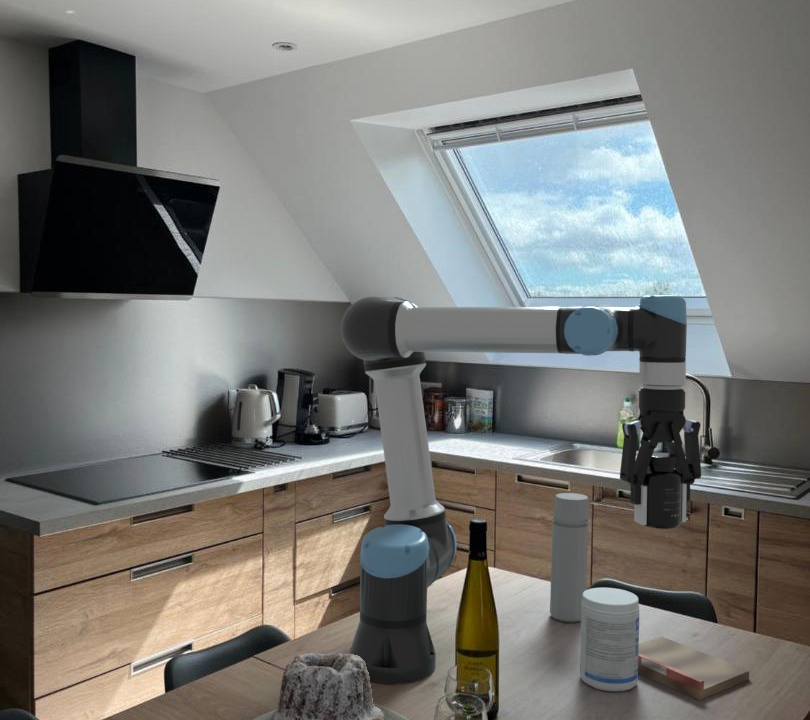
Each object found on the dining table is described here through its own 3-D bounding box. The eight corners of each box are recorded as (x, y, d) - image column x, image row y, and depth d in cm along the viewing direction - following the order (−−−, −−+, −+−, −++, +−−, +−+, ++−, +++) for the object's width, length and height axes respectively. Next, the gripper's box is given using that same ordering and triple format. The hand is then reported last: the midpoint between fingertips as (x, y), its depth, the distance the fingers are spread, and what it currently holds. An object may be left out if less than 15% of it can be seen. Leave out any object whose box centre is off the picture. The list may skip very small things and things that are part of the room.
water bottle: (585, 626, 166) (590, 501, 165) (545, 621, 168) (549, 498, 167) (588, 610, 175) (593, 492, 173) (551, 606, 177) (554, 489, 176)
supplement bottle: (630, 522, 144) (631, 453, 143) (659, 518, 147) (660, 450, 146) (660, 531, 138) (661, 459, 137) (690, 526, 141) (691, 455, 140)
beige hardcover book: (611, 661, 149) (611, 644, 149) (661, 644, 158) (661, 628, 158) (698, 700, 135) (699, 682, 135) (748, 679, 143) (749, 662, 143)
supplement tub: (648, 690, 138) (651, 603, 137) (596, 696, 136) (599, 607, 135) (618, 666, 147) (621, 584, 147) (569, 671, 145) (571, 588, 144)
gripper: (700, 384, 147) (697, 513, 149) (598, 386, 142) (596, 520, 143) (726, 387, 140) (724, 523, 141) (620, 390, 135) (618, 530, 136)
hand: (660, 521), depth 142 cm, fingers closed on supplement bottle, 7 cm apart
